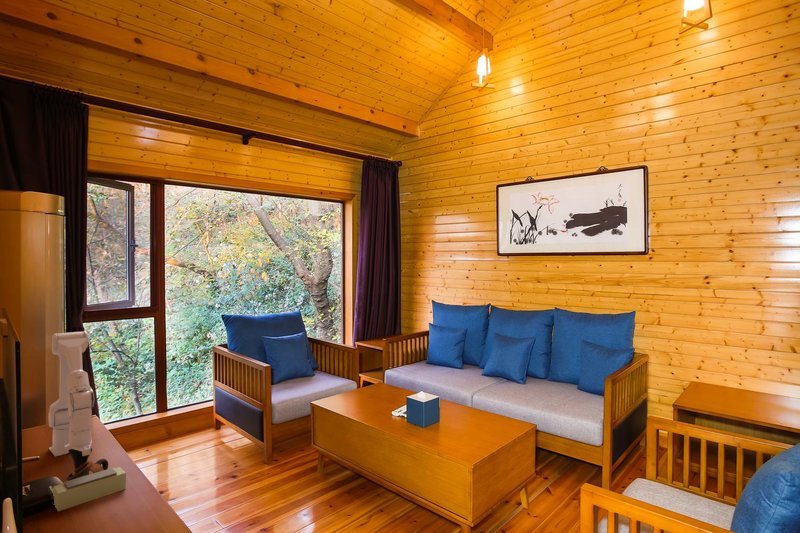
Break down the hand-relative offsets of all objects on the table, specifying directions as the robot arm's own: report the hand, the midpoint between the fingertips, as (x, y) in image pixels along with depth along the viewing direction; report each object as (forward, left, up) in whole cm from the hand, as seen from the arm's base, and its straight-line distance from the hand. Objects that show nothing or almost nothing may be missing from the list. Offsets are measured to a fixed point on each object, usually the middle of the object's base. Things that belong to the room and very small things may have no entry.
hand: (80, 470), depth 143 cm
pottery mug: (+9, +1, -2) cm, 10 cm away
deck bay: (+15, -1, -1) cm, 15 cm away
